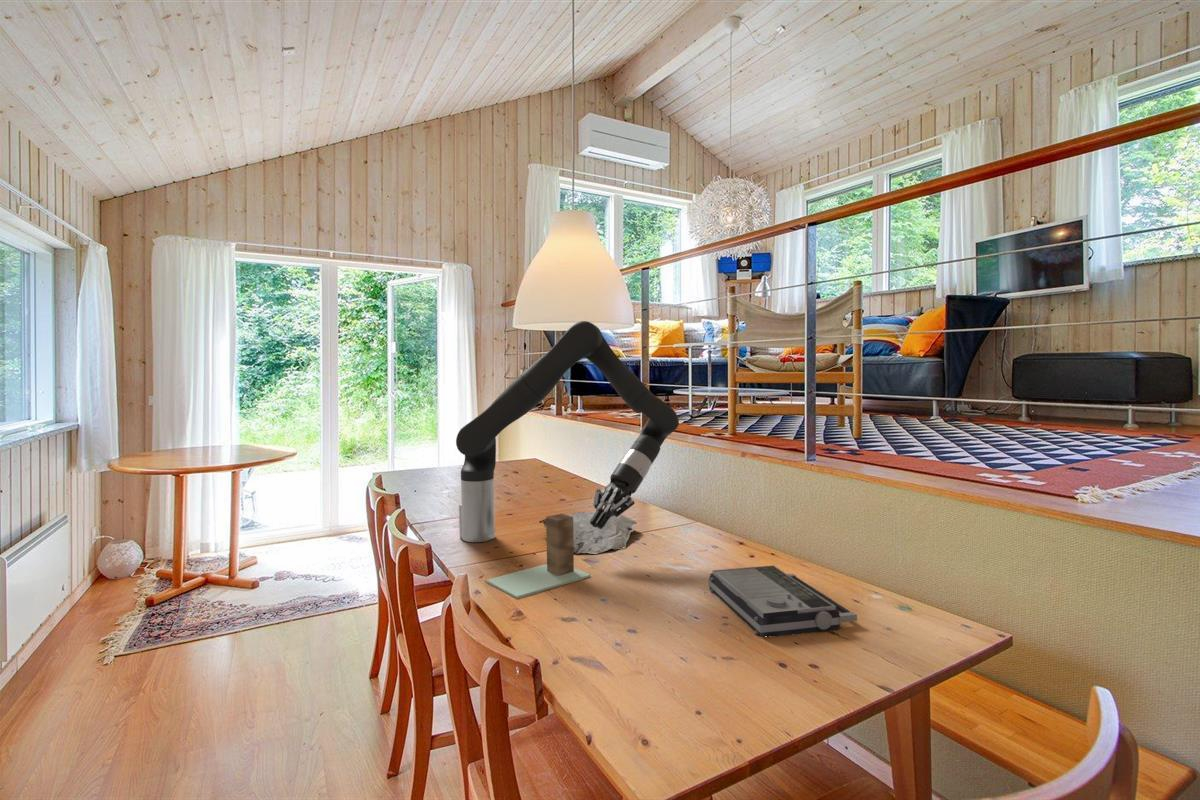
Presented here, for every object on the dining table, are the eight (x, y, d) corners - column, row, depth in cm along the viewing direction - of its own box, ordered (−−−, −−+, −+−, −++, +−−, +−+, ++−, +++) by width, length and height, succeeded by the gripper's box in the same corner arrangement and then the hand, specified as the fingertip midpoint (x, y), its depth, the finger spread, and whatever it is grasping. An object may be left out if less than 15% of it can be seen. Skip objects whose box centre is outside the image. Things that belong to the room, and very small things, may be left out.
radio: (707, 567, 127) (791, 560, 131) (707, 591, 128) (791, 584, 132) (760, 612, 103) (861, 602, 107) (760, 641, 104) (860, 630, 108)
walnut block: (562, 566, 142) (561, 513, 141) (573, 571, 138) (573, 516, 138) (547, 571, 139) (546, 516, 138) (558, 575, 135) (557, 520, 135)
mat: (557, 563, 146) (557, 561, 146) (590, 576, 136) (590, 574, 136) (486, 582, 133) (486, 579, 133) (516, 598, 123) (516, 596, 123)
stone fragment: (661, 544, 164) (662, 521, 164) (571, 561, 149) (571, 536, 148) (612, 522, 186) (612, 501, 185) (529, 535, 170) (529, 513, 170)
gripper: (606, 459, 156) (569, 512, 148) (642, 465, 145) (605, 522, 138) (621, 476, 159) (586, 529, 152) (657, 483, 149) (621, 540, 142)
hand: (595, 525), depth 145 cm, fingers closed
